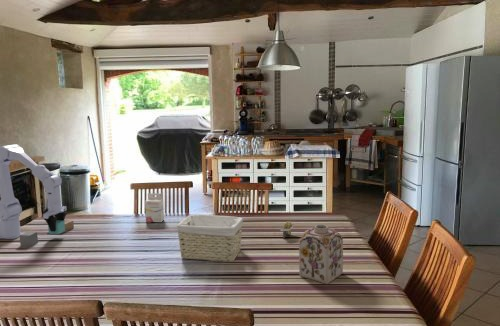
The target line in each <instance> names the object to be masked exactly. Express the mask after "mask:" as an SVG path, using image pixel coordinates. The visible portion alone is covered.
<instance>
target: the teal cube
mask: <svg viewBox="0 0 500 326" xmlns="http://www.w3.org/2000/svg"><path fill="white" fill-rule="evenodd" d="M47 228H48V234H49V235H60V234H63V233H62V232H64V231H65V223H64V221H61V220H56V231H50V228H49V226H48V225H47ZM64 233H65V232H64Z"/></svg>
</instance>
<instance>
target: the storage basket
mask: <svg viewBox="0 0 500 326" xmlns="http://www.w3.org/2000/svg"><path fill="white" fill-rule="evenodd" d="M243 224H244V219H243V217H240V216H239V217H238V216H229V215H211V214H189V215H188V216H186V217H185V218H183V219H182V220H181V221H180V222H179V223H178V224H177V225H176V232H177V236H178V237H177V238H178V242H179V251H180V257H181V258H182V259H184V260H185V259H187V260H199V261H200V260H203V261H209V262H225V263H226V262H227V263H230V262H231V263H232V262H234V260H236V258H237V256H238V254H239V253H240V251H241V246H242V245H241V244H242V235H243V234H242V228H243V227H242V225H243Z"/></svg>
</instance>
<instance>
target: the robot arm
mask: <svg viewBox="0 0 500 326" xmlns="http://www.w3.org/2000/svg"><path fill="white" fill-rule="evenodd" d="M12 161H19V163H21V164H23V165H24V166H25V167H27V169H30V170H31V174H32V175H33V176H34V177H36V179H38V180H39V181H41V183H42V186H43V188H44V189H45V192H46V201H47V202H46V203H47V211H46V212H45V213H43V214H42V216H43V220H44V221H45V222H46V224H47V227H48V226H49V228H50V231H56V220H61V221H64V220H66V216H67V213H68V212H67V206H66V205H65V206H64V205H63V206H62V196H61V187H60V186H61V185H62V183H63V179H62V177H61V176H60V175H59V174H57V173H54V172H51V171H50V170H49V169H48V168H46V165H44V164H37V163H36V162H35V161H34V160H33V159H32V158H31V157H30V156H29V155H28V154H27V153H25V151H24V149H23V147H21V146H20V145H19V144H16V143H13V144H7V145H2V146H1V145H0V239H9V240H10V239H11V240H14V239H16V238H18V237H19V238H20V235H21V234H23V233H24V232H21V224H20V221H21V220H20V217H21V215H20V214H22V212H23V211H22V210H23V208H22V205H21V203H20V201H19V199H18V198H16V197H15V193H14V189H13V184H12V178H11V172H10V167H9V166H10V164H11V162H12Z"/></svg>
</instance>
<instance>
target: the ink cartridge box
mask: <svg viewBox="0 0 500 326" xmlns="http://www.w3.org/2000/svg"><path fill="white" fill-rule="evenodd" d="M144 205H145V207H144V209H145V210H144V211H145V223H147V224H148V223H150V224H152V223H151V222H162V221H163V220H164V221H165V213H164V212H165V211H164V210H165V209H164V197H163V193H158V192H157V193H156V192H155V193H147V199H146V200H144ZM164 221H163V222H164ZM163 222H162V223H163Z"/></svg>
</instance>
